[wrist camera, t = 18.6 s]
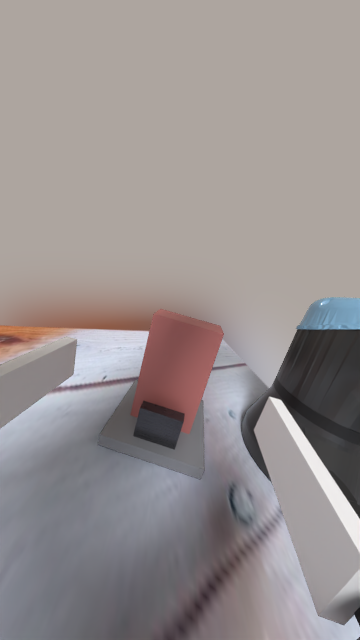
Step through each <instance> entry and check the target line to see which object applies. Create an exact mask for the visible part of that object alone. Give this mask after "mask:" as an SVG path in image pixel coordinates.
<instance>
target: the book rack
mask: <svg viewBox="0 0 360 640" xmlns="http://www.w3.org/2000/svg"><path fill="white" fill-rule="evenodd" d="M137 384H138V380H135V382H134V383H133V385H132V386H131V388H130V389H129V391H128V392H127V394H126V395H125V397H124V398H123V400H122V401H121V403H120V404H119V406H118V407H117V409H116V410H115V412H114V413H113V415H112V416H111V418H110V419H109V421H108V422H107V424H106V425H105V427H104V428H103V430H102V431H101V433H100V435H99V440H98V445H100V446H103V447H106V448H109V449H112V450H115V451H118V452H121V453H124V454H127V455H129V456H132V457H135V458H138V459H141V460H144V461H147V462H150V463H153V464H156V465H159V466H162V467H165V468H168V469H171V470H174V471H177V472H180V473H183V474H186V475H189V476H192V477H195V478H198V479H201V477H202V475H203V472H204V470H205V468H204V416H203V400H201V402H200V404H199V407H198V410H197V413H196V416H195V419H194V422H193V425H192V428H191V430H190V433H189V434H187V433H184V432H181V429H182V426H183V423H184V416H185V414H184V413H181V412H178V411H175V410H172V409H169V408H165V407H162V406H159V405H156V404H153V403H150V402H147V401H143V403H142V405H141V407H140V410H139V414H138V417H134V416H131V415H130V414H131V410H132V405H133V401H134V397H135V392H136V388H137Z"/></svg>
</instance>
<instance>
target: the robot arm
mask: <svg viewBox="0 0 360 640" xmlns="http://www.w3.org/2000/svg"><path fill="white" fill-rule="evenodd" d="M297 329H298V330H297V332H296V334H295V336H294V339H293V341H292V343H291V345H290V347H289V350H288V352H287V354H286V356H285V359H284V361H283V363H282V365H281V367H280V370H279V372H278V374H277V376H276V379H275V381H274V383H273V385H272V387H271V388H270V389H268V390H267V391H266V392H265V393H264V394H263V395H262V396H261V397H260V398H259V399H258V400H257V401H256V402H255V403H254V404H252V405H251V406H250V407H249V409H248V410H247V412H246V414H245V417H244V419H243V421H242V435H243V438H244V441H245V444H246V446H247V448H248V450H249V452H250V454H251V456H252V457H253V459H254V460H255V462H256V463H257V465H258V466H259V467H260V469H261V470H262V471H263V472H264V473H265V475H266V476H267V477H268V478H269V479H270V480H271V481H272V484H273V487H274V490H275V493H276V496H277V499H278V502H279V504H280V507H281V510H282V513H283V516H284V519H285V522H286V525H287V528H288V530H289V533H290V536H291V539H292V542H293V545H294V548H295V551H296V553H297V556H298V559H299V562H300V565H301V568H302V571H303V574H304V577H305V579H306V582H307V585H308V588H309V591H310V594H311V597H312V600H313V602H314V605H315V608H316V611H317V614H318V616H320V617H323V618H325V619H328V620H331V621H334V622H336V623H339V624H342V625H345V624H346V623H347V622H348V621H349V620H350V619H351V618H352V616H353V615H355V617H356V619H357V621H358V623H359V625H360V298H340V297H337V298H336V297H335V298H334V297H332V298H323V299H320V300H317V301H315V302H314V303H313V304H311V306H310V307H309V309H308V310H307V312H306V314H305V316H304V318H303V320H302V321H301V323H300V325H298V326H297ZM76 346H77V339H73V338H70V337H64V338H62V339H60V340H57V341H55V342H52V343H50V344H48V345H45V346H43V347H41V348H38V349H36V350H33V351H31V352H29V353H26V354H24V355H22V356H19V357H17V358H15V359H12V360H10V361H7V362H5V363H3V364H0V428H2V427H3V426H4V425H6V424H7V423H9V422H10V421H11V420H13V419H14V418H15V417H17V416H18V415H19V414H21V413H22V412H23V411H25V410H26V409H27V408H29V407H30V406H31V405H33V404H34V403H36V402H37V401H38V400H40V399H41V398H42V397H44V396H45V395H46V394H48V393H49V392H50V391H52V390H53V389H54V388H56V387H57V386H59V385H60V384H61V383H63V382H64V381H65V380H67V379H68V378H69V377H71V376H72V375H73V374H74V364H75V355H76ZM357 640H360V637H359V638H358V639H357Z"/></svg>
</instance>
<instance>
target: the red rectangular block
mask: <svg viewBox="0 0 360 640" xmlns="http://www.w3.org/2000/svg"><path fill="white" fill-rule="evenodd" d="M223 335H224V333H223V331H222V329H221V326H219V325H215V324H212V323H208V322H205V321H201V320H198V319H194V318H191V317H187V316H184V315H180V314H177V313H173V312H170V311H166V310H163V309H160V310H158V311H157V312H156V313H154V314H153V319H152V324H151V327H150V332H149V336H148V340H147V345H146V349H145V353H144V358H143V362H142V366H141V371H140V375H139V379H138V384H137V388H136V392H135V397H134V401H133V405H132V410H131V414H130V415H131V416H134V417H138V414H139V410H140V407H141V405H142V403H143V401H147V402H150V403H153V404H156V405H159V406H162V407H165V408H169V409H172V410H175V411H178V412H181V413H184V414H185V416H184V423H183V426H182V429H181V432H184V433H187V434H189V433H190V430H191V428H192V425H193V422H194V419H195V416H196V413H197V410H198V407H199V404H200V402H201V399H202V396H203V393H204V390H205V387H206V384H207V381H208V378H209V376H210V373H211V370H212V367H213V364H214V361H215V358H216V355H217V352H218V350H219V347H220V344H221V341H222V338H223Z"/></svg>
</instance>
